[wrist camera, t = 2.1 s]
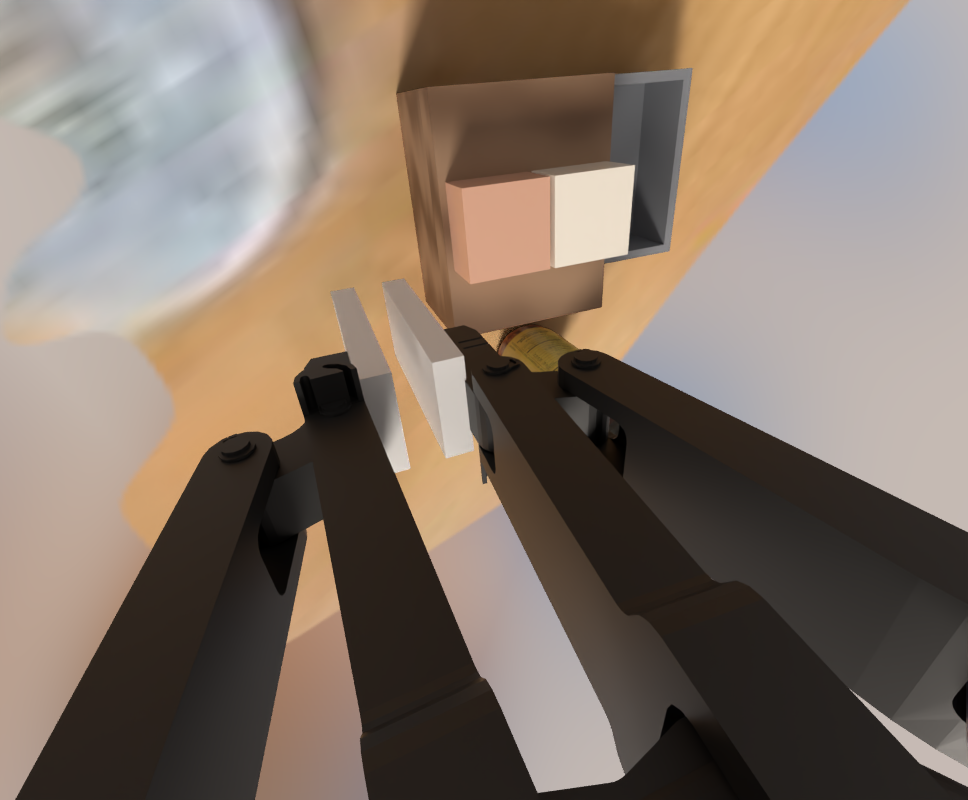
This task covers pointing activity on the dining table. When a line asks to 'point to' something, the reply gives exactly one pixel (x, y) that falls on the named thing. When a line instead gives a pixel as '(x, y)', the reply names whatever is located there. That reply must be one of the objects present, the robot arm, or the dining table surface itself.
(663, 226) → the bin
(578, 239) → the cream tile
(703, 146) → the dining table surface
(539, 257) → the salmon pink square block
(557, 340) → the sauce bottle
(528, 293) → the plate
